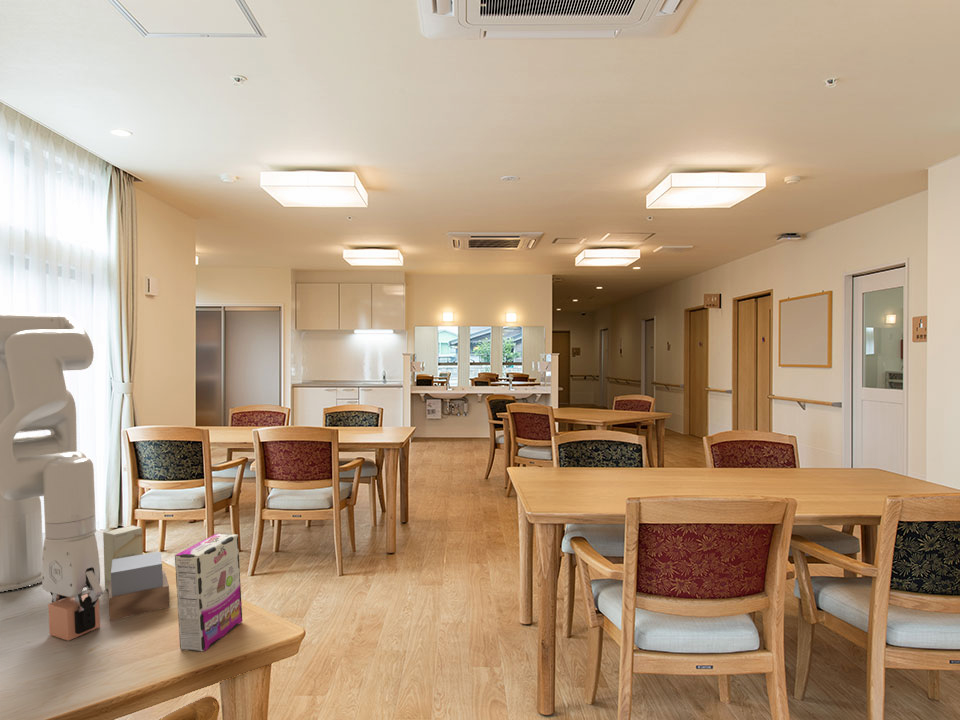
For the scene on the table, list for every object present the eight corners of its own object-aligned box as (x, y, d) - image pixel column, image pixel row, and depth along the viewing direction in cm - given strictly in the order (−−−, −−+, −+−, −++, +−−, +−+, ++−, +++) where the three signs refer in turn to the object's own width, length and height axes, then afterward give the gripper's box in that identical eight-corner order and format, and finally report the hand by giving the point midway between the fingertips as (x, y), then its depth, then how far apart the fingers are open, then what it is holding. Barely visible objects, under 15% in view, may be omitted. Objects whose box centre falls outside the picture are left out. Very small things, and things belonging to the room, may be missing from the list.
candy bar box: (219, 620, 111) (215, 532, 110) (243, 622, 110) (240, 533, 109) (176, 651, 100) (173, 553, 99) (203, 653, 99) (199, 555, 98)
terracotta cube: (49, 634, 106) (48, 604, 106) (81, 621, 111) (80, 592, 111) (68, 640, 104) (66, 609, 104) (100, 626, 109) (98, 597, 109)
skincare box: (114, 593, 124) (112, 535, 124) (103, 589, 127) (101, 532, 126) (145, 582, 130) (143, 527, 129) (134, 578, 132) (132, 524, 132)
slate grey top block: (111, 596, 112) (110, 572, 112) (113, 581, 120) (112, 559, 120) (162, 586, 117) (162, 563, 116) (161, 572, 124) (160, 551, 124)
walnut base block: (109, 622, 112) (108, 598, 111) (109, 603, 120) (108, 581, 120) (169, 608, 117) (168, 585, 117) (165, 591, 125) (164, 570, 125)
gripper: (20, 528, 107) (24, 627, 108) (78, 540, 100) (82, 646, 100) (64, 516, 114) (68, 610, 115) (122, 527, 107) (125, 627, 107)
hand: (74, 626), depth 107 cm, fingers closed on terracotta cube, 5 cm apart
